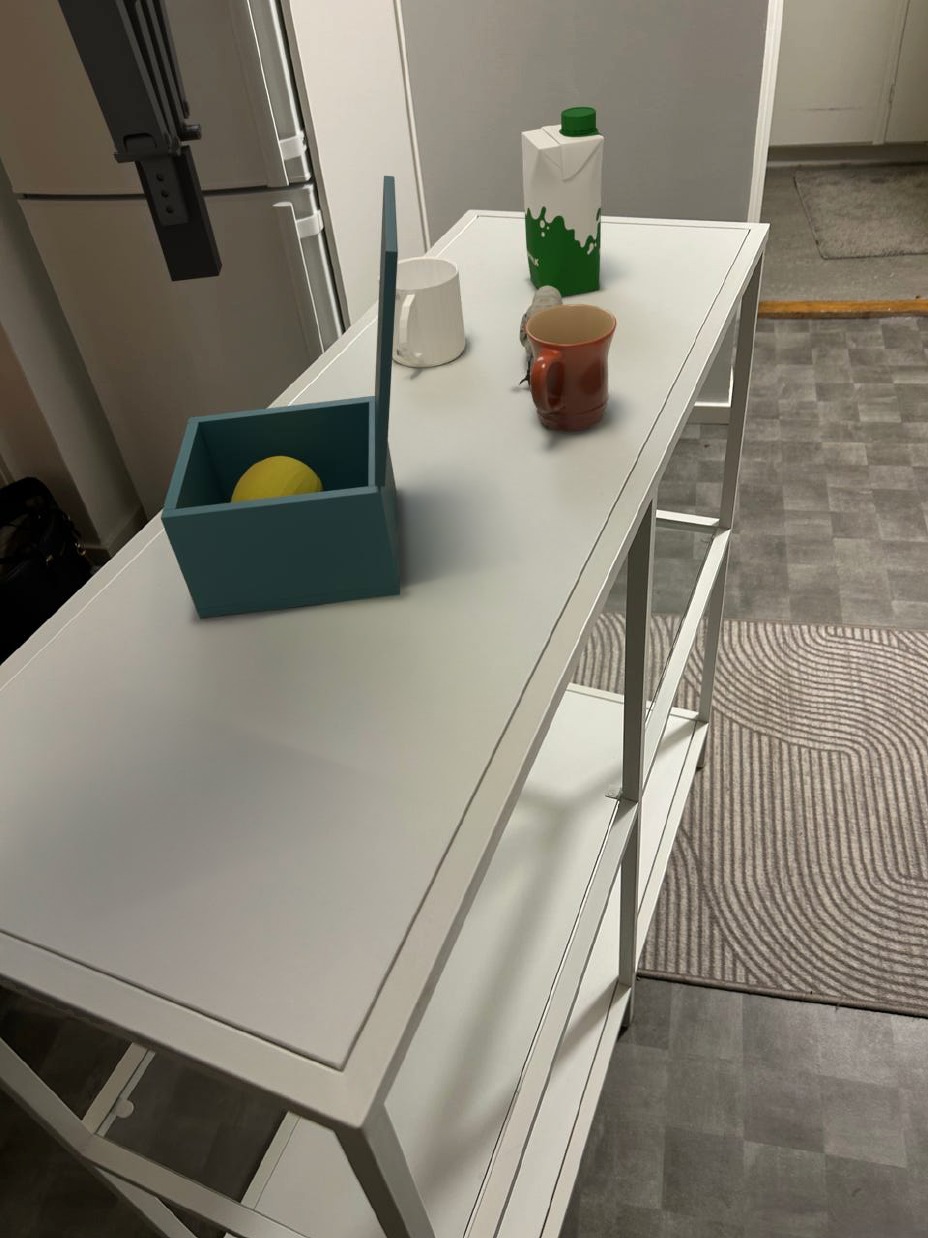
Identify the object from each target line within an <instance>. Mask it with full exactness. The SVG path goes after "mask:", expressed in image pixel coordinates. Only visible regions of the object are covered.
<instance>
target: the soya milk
mask: <svg viewBox="0 0 928 1238" xmlns="http://www.w3.org/2000/svg"><path fill="white" fill-rule="evenodd" d="M520 135H521V136H520V137H521V155H522V156H521V158H522V161H521V162H522V184H523V206H524V229H525V231H524V232H525V248H526V249H525V250H526V255H527V263H528V271H529V277H530V278H529V279H530V280H531V282H532V283H533V284H534V286H535V287H536V288H537V290H538V289H539V288H541V287H543V286H551V287H554V288H556V289H557V290H558V291H559V293H560V295H561V298H562V297H563V298H564V297H568V296H573V295H578V294H583V293H588V292H589V293H590V292H594V291H598V290H600V281H601V280H600V277H601V276H600V274H601V246H602V245H601V241H602V240H601V239H602V237H601V236H602V235H601V234H602V233H601V232H602V230H601V229H602V166H603V155H604V148H605V147H604V146H605V137H604V136H603V135H602V133H600V132H599V129H598V128H597V109H596V108H593V107H590V106H576V107H575V106H573V107H570V108H566V109H564V110H562V111H561V113H560V124H556V125H555V124H554V125H546V126H545V125H544V126H542V127H541V128H538V129H531V130H526V131H521V132H520Z"/></svg>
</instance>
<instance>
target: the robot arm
mask: <svg viewBox="0 0 928 1238" xmlns="http://www.w3.org/2000/svg"><path fill="white" fill-rule="evenodd" d="M57 2H58V5H59V8H60V10H61V12H62V15H63V17H64V21H65V23H66V26H67V28H68V30H69V33H70V36H71V38H72V40H73V43H74V45H75V48H76V50H77V53H78V56H79V58H80V60H81V63H82V66H83V68H84V71H85V73H86V76H87V78H88V81H89V83H90V86H91V88H92V91H93V93H94V96H95V99H96V102H97V104H98V106H99V108H100V111H101V114H102V116H103V119H104V122H105V124H106V126H107V130H108V132H109V134H110V136H111V139H112V141H113V144H114V148H115V151H114V153H113V157H114V159H115V161H116V163H117V164H124V163H125V164H127V163H134V165H135V168H136V171H137V175H138V178H139V181H140V184H141V187H142V188H141V189H142V191H143V193H144V197H145V200H146V203H147V206H148V209H149V213H150V216H151V219H152V222H153V226H154V229H155V232H156V236H157V238H158V241H159V245H160V248H161V251H162V254H163V257H164V261H165V263H166V264H165V265H166V267H167V270H168V273H169V276H170V280H171V282H180V281H189V280H197V279H198V280H199V279H206V278H214V277H219V276H220V275H221V271H222V268H223V263H222V259H221V256H220V253H219V248H218V244H217V241H216V237H215V234H214V230H213V227H212V223H211V219H210V216H209V211H208V208H207V204H206V201H205V197H204V193H203V190H202V186H201V182H200V178H199V175H198V171H197V167H196V164H195V161H194V157H193V154H192V149H191V146H190V144H186V145H182V142H190V141H191V142H193V141H199V140H202V137H203V134H202V127H201V123H193V124H187V123H186V120H189V119H190V115H191V108H190V104H189V100H187V95H186V92H185V87H184V82H183V78H182V77H183V76H182V73H181V69H180V64H179V60H178V55H177V50H176V46H175V41H174V38H173V33H172V27H171V22H170V18H169V13H168V9H167V6H166V1H165V0H57Z"/></svg>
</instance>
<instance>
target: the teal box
mask: <svg viewBox="0 0 928 1238" xmlns="http://www.w3.org/2000/svg"><path fill="white" fill-rule="evenodd" d="M389 444H390V443H388V446H387V465H386V483H385V487H379V486H375V395H369V396H368V395H367V396H361V397H359V396H358V397H352V398H343V399H342V398H341V399H335V400H326V401H325V400H324V401H319V402H310V403H309V402H308V403H300V404H294V405H293V404H292V405H284V406H276V407H275V406H274V407H269V408H268V407H267V408H259V409H258V408H257V409H251V410H250V409H249V410H241V411H233V412H226V413H218V414H208V415H199V416H192V417H189V418H188V421H187V425H186V428H185V431H184V435H183V440H182V442H181V446H180V449H179V452H178V456H177V459H176V463H175V466H174V469H173V473H172V477H171V480H170V484H169V487H168V490H167V493H166V497H165V501H164V504H163V508H162V511H161V516H160V520H161V523H162V526H163V528H164V531H165V533H166V536H167V538H168V542H169V544H170V546H171V549H172V552H173V554H174V556H175V559H176V561H177V564H178V566H179V570H180V572H181V574H182V577H183V580H184V582H185V584H186V587H187V590H188V593H189V594H190V597H191V600H192V602H193V605H194V608H195V610H196V612H197V615H198V618H199V619H202V618H203V619H205V618H212V617H221V616H229V615H230V616H231V615H237V614H245V613H255V612H264V611H271V610H281V609H289V608H297V607H307V606H315V605H323V604H331V603H340V602H341V603H342V602H348V601H359V600H366V599H375V598H385V597H391V596H399V595H400V594H401V591H400V590H401V588H400V587H401V586H400V553H399V552H400V551H399V548H400V547H399V519H398V491H397V486H396V479H395V473H394V466H393V461H392V456H391V450H390V445H389ZM275 456H285V457H290V458H293V459H296V460H298V461H300V462H302V463H304V464H305V465H307V466H308V467H309V468H310V469H312V470H313V471H314V473H315V474H316V475H317V476H318V478H319V479H320V481H321V483H322V486H323V490H324V492H317V493H308V494H300V495H291V496H283V497H274V498H266V499H257V500H249V501H240V502H232V503H231V499H232V495H233V493H234V490H235V488H236V485H237V483H238V482H239V480H240V478H241V477H242V476H243V475H244V474H245V473H246V472H247V471H248V470H249V469H250V468H251V467H252V466H253V465H254V464H256V463H258V462H260V461H262V460H264V459H267V458H270V457H275Z"/></svg>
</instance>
